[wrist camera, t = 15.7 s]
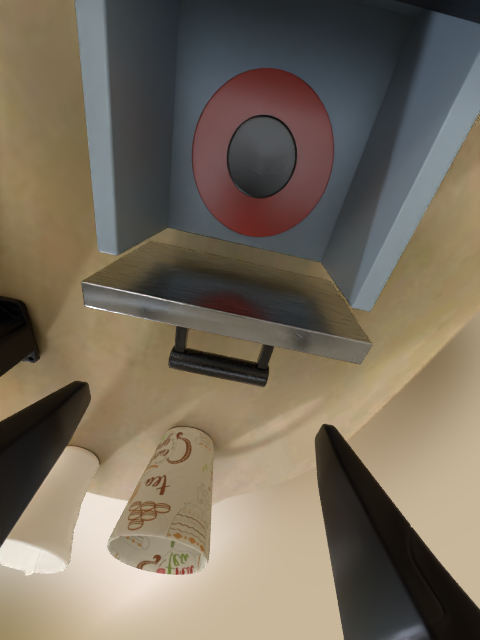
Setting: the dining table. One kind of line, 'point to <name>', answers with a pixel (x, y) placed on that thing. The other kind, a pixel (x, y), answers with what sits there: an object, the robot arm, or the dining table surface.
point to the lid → (262, 152)
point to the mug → (170, 508)
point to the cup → (51, 516)
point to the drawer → (342, 189)
